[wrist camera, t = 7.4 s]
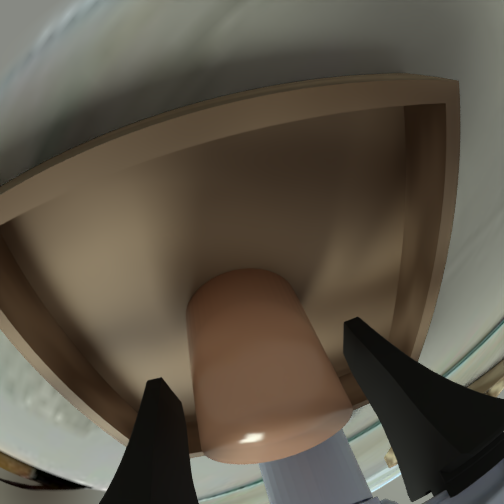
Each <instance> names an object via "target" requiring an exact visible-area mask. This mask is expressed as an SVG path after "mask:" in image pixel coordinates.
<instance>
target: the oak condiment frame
mask: <svg viewBox="0 0 504 504" xmlns="http://www.w3.org/2000/svg"><path fill="white" fill-rule="evenodd" d="M467 388H469V389H472V390H474V391H477V392H480V393H485V392H487V391H488V390H489V391H488V392H487V393H486V395H489V396H493V397H497V396H498V395H499V394H500V392H501V391H502V390H503V388H504V360H502V361H501V362H500V363H499V364H497V365H496V366H495V367H494V368H492V369H491V370H490V371H489V372H487V373H486V374H485V375H483V376H482V377H481V378H479V379H478V380H477V381H475V382H474V383H473V384H471V385H470V386H468V387H467ZM384 459H385V461H386V463H387V465H388V467H389V468H391V467H393V466H395V465H397V464H398V463H397V460H396V457H395V455H394V452H393V450H392V447H391V448H390V450H389V451H388V453H387V454H386V456H385V457H384Z"/></svg>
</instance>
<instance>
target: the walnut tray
mask: <svg viewBox="0 0 504 504" xmlns="http://www.w3.org/2000/svg"><path fill="white" fill-rule="evenodd" d="M459 157H460V94H459V81H457V80H451V79H445V78H439V77H432V76H425V75H417V74H408V73H391V74H367V75H352V76H340V77H330V78H321V79H313V80H305V81H298V82H292V83H285V84H279V85H274V86H268V87H263V88H258V89H253V90H248V91H243V92H238V93H234V94H230V95H225V96H221V97H217V98H213V99H209V100H206V101H202V102H198V103H195V104H191V105H187V106H184V107H181V108H177V109H174V110H171V111H168V112H164V113H161V114H158V115H155V116H152V117H149V118H146V119H144V120H141V121H138V122H135V123H132V124H130V125H127V126H124V127H122V128H119V129H117V130H114V131H111V132H109V133H106V134H104V135H102V136H99V137H97V138H94V139H92V140H90V141H87V142H85V143H83V144H81V145H78V146H76V147H74V148H72V149H70V150H68V151H65V152H63V153H61V154H59V155H57V156H55V157H53V158H51V159H49V160H47V161H45V162H43V163H41V164H39V165H38V166H36V167H34V168H32V169H30V170H28V171H26V172H25V173H23V174H21V175H19V176H17V177H16V178H14V179H12V180H11V181H9V182H7V183H6V184H4V185H2V186H1V187H0V329H1V330H2V332H3V333H4V334H5V335H6V337H7V338H8V339H9V340H10V341H11V343H12V344H13V345H14V346H15V347H16V348H17V350H18V351H19V352H20V353H21V354H22V355H23V356H24V358H25V359H26V360H27V361H28V362H29V363H30V364H31V365H32V366H33V367H34V368H35V369H36V370H37V371H38V372H39V373H40V375H41V376H42V377H43V378H44V379H45V380H46V381H47V382H48V383H49V384H51V385H52V386H53V387H54V388H55V389H56V390H57V391H58V392H59V393H60V394H61V395H62V396H63V397H64V398H65V399H67V400H68V401H69V402H70V403H71V404H72V405H73V406H74V407H76V408H77V409H78V410H79V411H80V412H81V413H83V414H84V415H85V416H86V417H87V418H89V419H90V420H91V421H92V422H94V423H95V424H96V425H97V426H99V427H100V428H101V429H102V430H104V431H105V432H106V433H108V434H109V435H110V436H112V437H113V438H114V439H116V440H117V441H118V442H120V443H121V444H123V445H124V446H126V447H127V445H128V442H129V439H130V436H131V433H132V430H133V427H134V424H135V421H136V417H137V414H138V411H139V407H140V404H141V400H142V397H143V393H144V390H145V386H146V382H147V381H148V380H151V379H156V378H160V377H162V378H163V379H164V381H165V382H166V383H167V385H168V386H169V387H170V388H171V390H172V391H173V392H174V393H175V395H176V396H177V397H178V398H179V400H180V401H181V402H182V406H183V411H184V416H185V421H186V426H187V436H188V446H189V456H190V458H194V457H200V456H205V455H204V453H203V452H202V449H201V444H200V438H199V431H198V424H197V417H196V410H195V403H194V395H193V387H192V379H191V370H190V361H189V351H188V340H187V329H186V310H187V306H188V304H189V301H190V300H191V298H192V296H193V295H194V294H195V292H196V291H197V290H198V289H199V288H200V287H201V286H202V285H204V284H205V283H206V282H208V281H209V280H211V279H213V278H214V277H216V276H219V275H221V274H223V273H226V272H229V271H233V270H238V269H246V268H255V269H263V270H267V271H271V272H273V273H276V274H278V275H280V276H281V277H283V278H284V279H285V280H287V281H288V282H289V284H290V285H291V286H292V288H293V289H294V291H295V293H296V295H297V297H298V299H299V301H300V303H301V305H302V307H303V309H304V311H305V313H306V314H307V316H308V318H309V320H310V322H311V324H312V326H313V328H314V330H315V332H316V334H317V336H318V338H319V340H320V342H321V344H322V346H323V348H324V350H325V352H326V354H327V356H328V358H329V360H330V362H331V364H332V366H333V368H334V370H335V372H336V374H337V376H338V378H339V380H340V382H341V384H342V386H343V388H344V390H345V392H346V394H347V396H348V398H349V400H350V402H351V404H352V407H353V410H355V409H358V408H360V407H362V406H364V405H367V404H369V401H368V399H367V398H366V396H365V394H364V393H363V391H362V390H361V388H360V386H359V384H358V383H357V381H356V379H355V378H354V376H353V374H352V372H351V370H350V368H349V366H348V363H347V361H346V359H345V357H344V354H343V331H344V322H345V321H348V320H350V319H353V318H355V317H360V318H361V319H362V320H363V321H364V322H366V323H367V324H368V325H369V326H370V327H371V328H373V329H374V330H375V331H376V332H377V333H379V334H380V335H381V336H382V337H384V338H385V339H386V340H388V341H389V342H390V343H391V344H393V345H394V346H395V347H397V348H398V349H400V350H401V351H402V352H404V353H405V354H406V355H408V356H409V357H411V358H412V359H414V360H415V361H417V362H418V359H419V356H420V354H421V351H422V348H423V345H424V342H425V339H426V336H427V333H428V329H429V326H430V323H431V320H432V316H433V313H434V309H435V306H436V302H437V298H438V294H439V290H440V286H441V282H442V278H443V273H444V269H445V264H446V259H447V254H448V249H449V244H450V238H451V232H452V226H453V219H454V212H455V204H456V195H457V185H458V173H459Z"/></svg>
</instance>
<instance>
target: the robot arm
mask: <svg viewBox="0 0 504 504" xmlns="http://www.w3.org/2000/svg"><path fill="white" fill-rule="evenodd" d="M343 354H344V357H345V359H346V361H347V363H348V366H349V368H350V370H351V372H352V374H353V376H354V378H355V379H356V381H357V383H358V384H359V386H360V388H361V390H362V391H363V393H364V394H365V396H366V398H367V399H368V401H369V403H370V404H371V406H372V408H373V409H374V411H375V413H376V414H377V416H378V418H379V420H380V422H381V424H382V426H383V428H384V431H385V433H386V435H387V438H388V440H389V442H390V445H391V447H392V450H393V452H394V455H395V457H396V460H397V463H398V465H399V468H400V471H401V474H402V477H403V480H404V483H405V486H406V490H407V493H408V496H409V498H410V500H411V502H414V501H416V500H418V499H419V498H422V497H423V496H425V495H427V494H429V493H430V492H432V494H433V496H434V497H433V498H431V499H429V500H428V501H426V502H424V503H423V504H504V432H503V431H504V399H500V398H496V397H493V396H489V395H486V394H483V393H480V392H477V391H474V390H472V389H469V388H467V387H464V386H462V385H460V384H457V383H455V382H453V381H451V380H449V379H447V378H445V377H443V376H441V375H439V374H437V373H435V372H433V371H431V370H430V369H428V368H426V367H425V366H423V365H422V364H420V363H418V362H417V361H415V360H414V359H412V358H411V357H409V356H408V355H406V354H405V353H404V352H402V351H401V350H400V349H398V348H397V347H395V346H394V345H393V344H391V343H390V342H389V341H388V340H386V339H385V338H384V337H382V336H381V335H380V334H379V333H377V332H376V331H375V330H374V329H373V328H371V327H370V326H369V325H368V324H367V323H366V322H364V321H363V320H362V319H361V318H360V317H355V318H353V319H350V320H348V321H345V322H344V331H343ZM259 467H260V470H261V474H262V477H263V481H264V484H265V487H266V491H267V494H268V498H269V501H270V504H398V503H397V502H395V501H391V500H388V499H383V500H381V501H379V499H378V497H374V498H373V496H372V494H371V491H370V489H369V487H368V485H367V482H366V480H365V478H364V476H363V474H362V471H361V469H360V467H359V465H358V462H357V460H356V458H355V456H354V454H353V451H352V449H351V447H350V445H349V443H348V440H347V438H346V436H345V434H344V432H343V429H341V430H339V431H338V432H337V433H336V434H334V435H333V436H332V437H330V438H329V439H327V440H325V441H324V442H322V443H320V444H318V445H317V446H315V447H312V448H310V449H308V450H306V451H303V452H301V453H298V454H296V455H293V456H289V457H286V458H283V459H279V460H274V461H270V462H264V463H259ZM371 498H372V499H371ZM99 504H199V503H198V499H197V496H196V492H195V488H194V484H193V479H192V473H191V466H190V456H189V446H188V436H187V426H186V421H185V416H184V411H183V406H182V402H181V401H180V400H179V398H178V397H177V396H176V395H175V393H174V392H173V391H172V390H171V388H170V387H169V386H168V385H167V383H166V382H165V381H164V379H163V378H162V377H160V378H156V379H151V380H148V381H147V382H146V386H145V390H144V393H143V397H142V400H141V404H140V407H139V411H138V414H137V417H136V421H135V424H134V427H133V430H132V433H131V436H130V439H129V442H128V445H127V447H126V450H125V453H124V455H123V458H122V460H121V463H120V465H119V467H118V469H117V472H116V474H115V476H114V478H113V480H112V482H111V484H110V486H109V488H108V489H107V491H106V493H105V495H104V497H103V498H102V500H101V501H100V503H99Z"/></svg>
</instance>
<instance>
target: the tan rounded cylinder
mask: <svg viewBox="0 0 504 504" xmlns="http://www.w3.org/2000/svg"><path fill="white" fill-rule="evenodd" d="M186 329H187V340H188V351H189V361H190V370H191V379H192V387H193V395H194V403H195V410H196V417H197V424H198V431H199V438H200V444H201V449H202V452H203V453H204V455H205V456H207V457H208V458H210V459H212V460H215V461H218V462H222V463H228V464H256V463H264V462H270V461H274V460H279V459H283V458H286V457H289V456H293V455H296V454H298V453H301V452H303V451H306V450H308V449H310V448H312V447H315V446H317V445H318V444H320V443H322V442H324V441H325V440H327V439H329V438H330V437H332V436H333V435H334V434H336V433H337V432H338V431H339V430H341V429H342V428H343V427H344V426H345V425H346V423H347V422H348V421H349V419H350V418H351V416H352V413H353V407H352V404H351V402H350V400H349V398H348V396H347V394H346V392H345V390H344V388H343V386H342V384H341V382H340V380H339V378H338V376H337V374H336V372H335V370H334V368H333V366H332V364H331V362H330V360H329V358H328V356H327V354H326V352H325V350H324V348H323V346H322V344H321V342H320V340H319V338H318V336H317V334H316V332H315V330H314V328H313V326H312V324H311V322H310V320H309V318H308V316H307V314H306V313H305V311H304V309H303V307H302V305H301V303H300V301H299V299H298V297H297V295H296V293H295V291H294V289H293V288H292V286H291V285H290V284H289V282H288V281H287V280H285V279H284V278H283V277H281V276H280V275H278V274H276V273H273V272H271V271H267V270H263V269H255V268H246V269H238V270H233V271H229V272H226V273H223V274H221V275H219V276H216V277H214V278H213V279H211V280H209V281H208V282H206V283H205V284H204V285H202V286H201V287H200V288H199V289H198V290H197V291H196V292H195V294H194V295H193V296H192V298H191V300H190V301H189V304H188V306H187V310H186Z"/></svg>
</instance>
